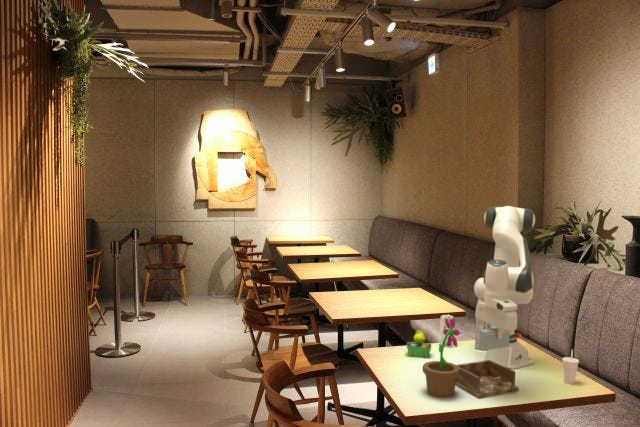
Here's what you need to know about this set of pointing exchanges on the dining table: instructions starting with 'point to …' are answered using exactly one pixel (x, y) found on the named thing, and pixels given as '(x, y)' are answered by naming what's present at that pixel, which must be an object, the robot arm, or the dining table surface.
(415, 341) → the fruit basket
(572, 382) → the smoothie
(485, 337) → the grey box with stripe
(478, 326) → the candy bar box
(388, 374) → the dining table surface
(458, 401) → the dining table surface
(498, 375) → the wooden box
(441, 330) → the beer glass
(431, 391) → the flowerpot
